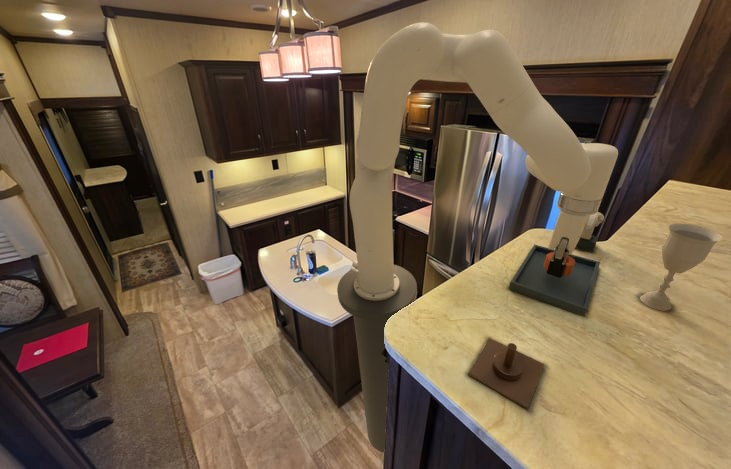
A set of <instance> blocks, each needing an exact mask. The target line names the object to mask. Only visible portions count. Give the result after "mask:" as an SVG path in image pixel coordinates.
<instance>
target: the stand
mask: <svg viewBox="0 0 731 469" xmlns="http://www.w3.org/2000/svg"><path fill="white" fill-rule="evenodd" d="M544 366H545V363H543V362H540V361H538V360H536V359H534V358H532V357H531V356H528V355H526V354H524V353H523V352H519V351H518V346H517V345H516V344H515V343H514V342H513V343H512V342H509V343H508V344H507V345H505V344H503V343H501V342H499V341H497V340H495V339H493V338H490V337H488V338H487V340H486V341H485V343H484V345H483V347H482V348H481V350H480V352H479V354H478V356H477V357H476V359H475V360H474V362H473V364H472V366H471V367H470V369H469V371H468V372H467V375H468V376H469V377H471V378H472V379H475V380H476V381H478V382H480V383H482V384H483V385H485V386H487V387H488V388H490V389H492V390H493V391H496V392H497V393H499V394H500V395H502V396H504V397H506V398H507V399H509V400H511V401H512V402H513V403H516V404H518V405H519V406H521V407H522V408H525V409H526V410H529V408H530V405H531V402H532V400H533V397H534V394H535V392H536V391H535V390H536V389H537V385H538V383H539V380H540V378H541V375H542V372H543V369H544Z"/></svg>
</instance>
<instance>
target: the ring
mask: <svg viewBox="0 0 731 469" xmlns="http://www.w3.org/2000/svg"><path fill="white" fill-rule="evenodd" d="M553 254H554V252H551V253H548V254H547V256H546V259H545V262H544V268H545V269H546V270H548V266H549V263H550V260H551V259H552V257H553ZM564 256H565V254H563V257H564ZM565 263H566V266H565V269H564V272H563V275H562V276H567V275H570V274H571V273H572V270H573V267H574V265H575V260H574V258H572V257H570V256H569V255H568V257H567V259H566V262H565Z"/></svg>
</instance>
